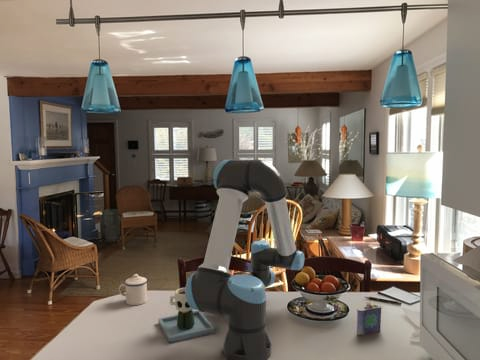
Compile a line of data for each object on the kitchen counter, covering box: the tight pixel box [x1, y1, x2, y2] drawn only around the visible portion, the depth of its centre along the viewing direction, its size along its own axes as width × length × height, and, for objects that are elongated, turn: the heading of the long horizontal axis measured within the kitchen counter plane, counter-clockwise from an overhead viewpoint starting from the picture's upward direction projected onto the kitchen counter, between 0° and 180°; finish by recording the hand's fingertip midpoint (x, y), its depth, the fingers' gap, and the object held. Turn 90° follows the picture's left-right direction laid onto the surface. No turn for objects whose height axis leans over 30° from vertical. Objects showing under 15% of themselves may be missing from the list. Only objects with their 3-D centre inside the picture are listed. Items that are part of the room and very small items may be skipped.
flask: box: [356, 301, 382, 336], centre depth 135 cm, size 9×3×11 cm, turn 109°
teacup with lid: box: [118, 273, 148, 306], centre depth 164 cm, size 12×9×12 cm
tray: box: [158, 310, 216, 344], centre depth 140 cm, size 16×16×2 cm
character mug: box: [169, 287, 195, 329], centre depth 139 cm, size 11×7×13 cm, turn 89°
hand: (198, 298), depth 143 cm, fingers open, 13 cm apart
